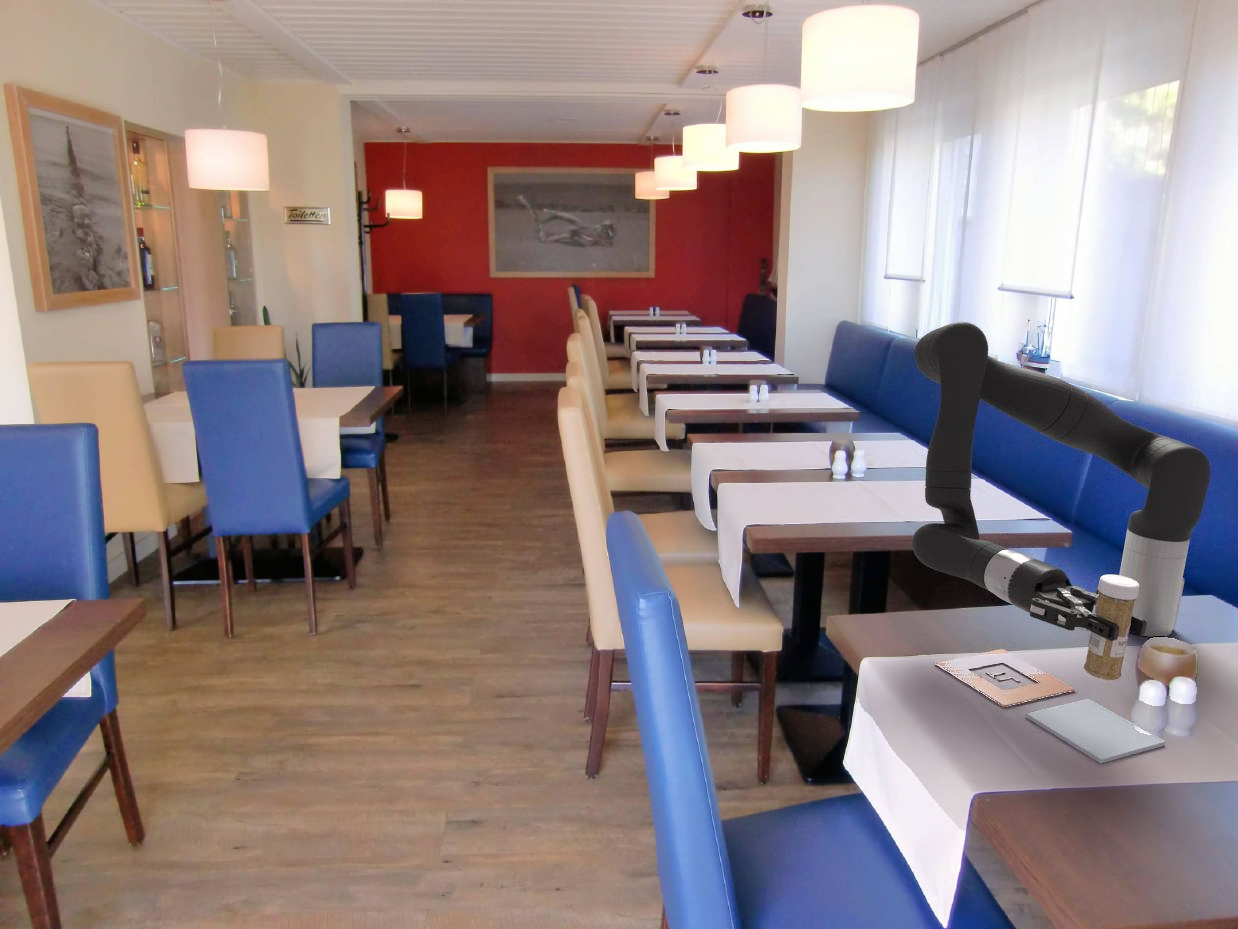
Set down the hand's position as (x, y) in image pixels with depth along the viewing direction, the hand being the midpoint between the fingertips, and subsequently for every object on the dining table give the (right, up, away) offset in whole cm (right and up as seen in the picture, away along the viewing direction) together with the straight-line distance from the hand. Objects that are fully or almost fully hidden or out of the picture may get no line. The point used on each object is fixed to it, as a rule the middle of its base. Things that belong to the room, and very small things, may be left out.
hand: (1129, 631), depth 114 cm
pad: (-1, -15, +6) cm, 16 cm away
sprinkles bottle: (-1, -7, +4) cm, 8 cm away
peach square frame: (-7, -11, +21) cm, 25 cm away
